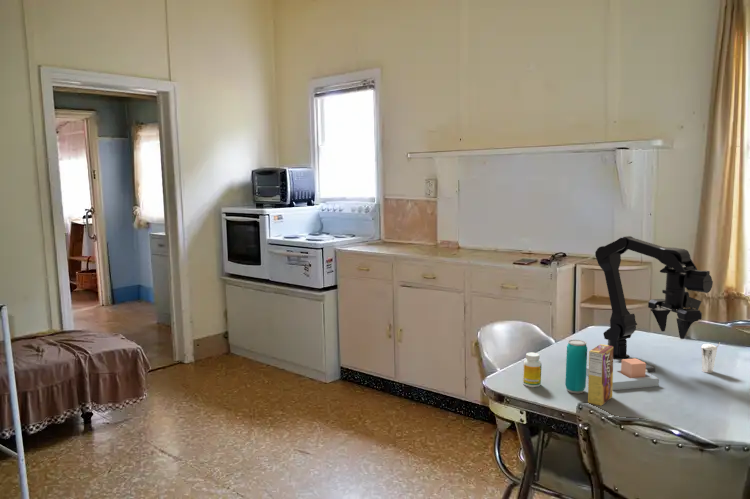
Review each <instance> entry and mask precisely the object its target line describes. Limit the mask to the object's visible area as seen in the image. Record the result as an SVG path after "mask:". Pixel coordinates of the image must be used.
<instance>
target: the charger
mask: <svg viewBox="0 0 750 499" xmlns="http://www.w3.org/2000/svg"><path fill="white" fill-rule="evenodd" d="M621 360H622V362H621V361H620V363H621V374H623V375H625V376H627V377H629V378H640V377H645V373H646V364H647V363H646V362H644V361H642V360H640V359H638V358H625V359H624V358H623V359H622V358H621Z"/></svg>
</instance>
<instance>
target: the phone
mask: <svg viewBox="0 0 750 499" xmlns="http://www.w3.org/2000/svg"><path fill="white" fill-rule="evenodd" d="M621 362H622V359H621V360H620V363H621ZM646 369H647V370H648V372H647V373H651V372H655V369H656V368H655V367H654V366H651V365H649V364H647V363H646Z"/></svg>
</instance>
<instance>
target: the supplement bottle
mask: <svg viewBox="0 0 750 499" xmlns="http://www.w3.org/2000/svg"><path fill="white" fill-rule="evenodd" d="M540 356H541V354H539V352H538V353H537V352H531V351H530V352H526V354H525V359H524V361H523V369H522V370H523V372H522V383H523V385H524V386H526V387H529V388H539V387H540V386H541V385H542V384H541V382H542V362H541V361H540Z"/></svg>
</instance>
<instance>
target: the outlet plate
mask: <svg viewBox="0 0 750 499" xmlns="http://www.w3.org/2000/svg"><path fill="white" fill-rule="evenodd" d="M586 377H589V364H587V367H586ZM659 386H660V378H659V377H657V376H655V375H653V374H651V373H650V372H646V373H645V377H640V378H629V377H627V376H625V375H623V374H621V362H613V389H612V391H616V390H618V391H619V390H620V391H621V390H629V389H640V388H642V389H643V388H651V387H652V388H653V387H659Z"/></svg>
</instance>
